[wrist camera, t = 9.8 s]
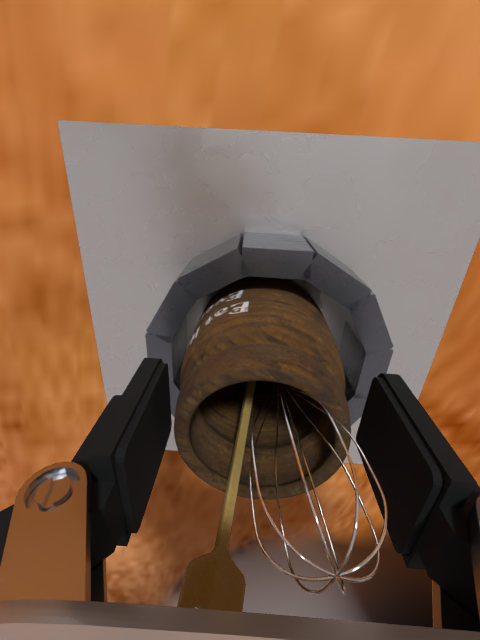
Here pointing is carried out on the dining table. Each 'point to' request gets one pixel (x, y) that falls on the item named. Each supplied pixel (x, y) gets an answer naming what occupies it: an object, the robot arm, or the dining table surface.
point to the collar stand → (271, 239)
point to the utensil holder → (263, 423)
